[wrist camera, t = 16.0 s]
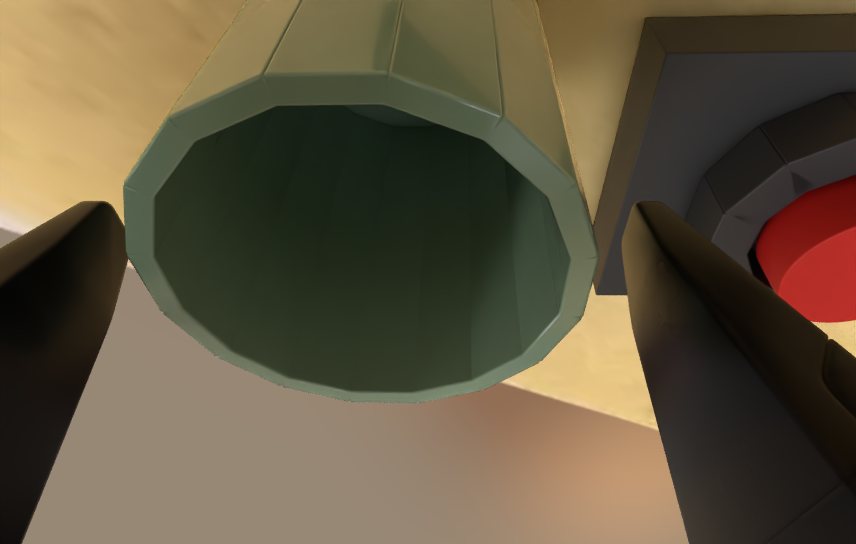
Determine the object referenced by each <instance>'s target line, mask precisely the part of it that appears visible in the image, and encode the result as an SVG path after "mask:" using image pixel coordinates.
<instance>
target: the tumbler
mask: <svg viewBox="0 0 856 544" xmlns="http://www.w3.org/2000/svg"><path fill="white" fill-rule="evenodd" d="M123 197H124V219H125V241H126V253H127V256H128V258H129V260H130V261H131V263H132V265H133V266H134V268H135V269H136V271H137V273H138V274H139V276H140V278H141V279H142V281H143V282H144V284H145V286H146V287H147V289H148V291H149V292H150V294H151V296H152V297H153V299H154V301H155V302H156V304H157V305H158V307H159V309H160V310H161V311H162V312H163V313H164V315H165V316H167V317H168V318H169V319H170V320H171V321H173V322H174V323H175V324H176V325H178V326H179V327H180V328H181V329H183V330H184V331H185V332H186V333H188V334H189V335H190V336H191V337H193V338H194V339H195V340H196V341H197V342H199V343H200V344H201V345H203V346H204V347H205V348H206V349H207V350H209V351H210V352H211V353H212V354H214V355H215V356H218V358H220V359H222V360H224V361H226V362H228V363H231V364H233V365H235V366H237V367H239V368H242V369H244V370H246V371H248V372H250V373H253V374H255V375H257V376H259V377H261V378H264V379H266V380H268V381H270V382H272V383H274V384H277V385H279V386H283V387H285V388H290V389H294V390H299V391H303V392H308V393H312V394H317V395H321V396H326V397H330V398H335V399H339V400H344V401H351V402H384V403H385V402H386V403H388V402H389V403H417V402H419V403H421V402H426V401H431V400H436V399H441V398H446V397H452V396H457V395H462V394H467V393H471V392H477V391H481V390H482V389H487V388H489V387H491V386H493V385H495V384H497V383H499V382H501V381H503V380H505V379H507V378H509V377H511V376H513V375H515V374H517V373H519V372H521V371H523V370H525V369H528V368H530V367H532V366H534V365H536V364H538V363H539V361H542V360H543V359H544V358H545V357H546V356H547V355H548V354H549V352H550V351H551V350H552V349H553V348H554V347H555V346H556V345H557V344H558V343H559V342H560V341H561V340H562V339H563V338H564V337H565V336H566V335H567V334H568V333H569V331H570V330H571V329H572V328H573V327H574V326H575V325H576V324H577V323H578V322H579V321H580V320H581V318H582V316H583V315H584V311H585V308H586V304H587V301H588V297H589V293H590V290H591V286H592V282H593V279H594V275H595V272H596V268H597V264H598V261H599V249H598V245H597V241H596V237H595V233H594V229H593V225H592V221H591V217H590V213H589V209H588V205H587V201H586V197H585V193H584V189H583V185H582V181H581V177H580V173H579V169H578V165H577V161H576V157H575V153H574V149H573V145H572V141H571V137H570V133H569V129H568V125H567V121H566V117H565V113H564V109H563V105H562V101H561V97H560V93H559V89H558V85H557V81H556V77H555V73H554V69H553V65H552V61H551V57H550V53H549V49H548V45H547V41H546V37H545V33H544V29H543V25H542V21H541V17H540V13H539V9H538V5H537V0H248V1H247V2H246V4H245V5H244V7H243V8H242V9H241V11H240V12H239V14H238V15H237V17H236V18H235V19H234V21H233V22H232V24H231V25H230V27H229V28H228V29H227V31H226V32H225V34H224V35H223V37H222V38H221V39H220V41H219V42H218V44H217V45H216V47H215V48H214V49H213V51H212V52H211V54H210V55H209V57H208V58H207V59H206V61H205V62H204V64H203V65H202V67H201V68H200V69H199V71H198V72H197V74H196V75H195V77H194V78H193V79H192V81H191V82H190V84H189V85H188V87H187V88H186V89H185V91H184V92H183V94H182V95H181V97H180V98H179V99H178V101H177V102H176V104H175V105H174V107H173V108H172V109H171V111H170V112H169V114H168V115H167V117H166V118H165V120H164V121H163V123H162V124H161V126H160V127H159V129H158V130H157V132H156V133H155V135H154V136H153V138H152V139H151V141H150V142H149V144H148V145H147V147H146V148H145V150H144V151H143V153H142V155H141V156H140V158H139V159H138V161H137V162H136V164H135V165H134V167H133V168H132V170H131V171H130V173H129V174H128V176H127V177H126V179H125V180H124V185H123Z"/></svg>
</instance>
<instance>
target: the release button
mask: <svg viewBox="0 0 856 544" xmlns="http://www.w3.org/2000/svg"><path fill="white" fill-rule="evenodd" d="M756 257H757V259H758V262H759V264H760V266H761V268H762V269H763V271H764V273H765V275H766V277H767V279H768V281H769V283H770V285H771V287H772V288H773V290H774V292H775V293H776V294H777V295H778V296H779V297H781V298H782V299H783V300H784V301H786V302H787V303H788V304H789V305H791V306H792V307H793V308H794V309H796V310H797V311H798V312H799V313H801V314H802V315H803V316H804V317H806V318H807V319H808V320H809V321H813V322H825V323H830V322H845V321H852V320H856V175H853V176H850V177H847V178H844V179H841V180H839V181H836V182H833V183H830V184H827V185H824V186H822V187H819V188H816V189H813V190H810V191H807V192H805V193H804V194H802V195H801V196H800V197H798V198H797V199H796V200H794V201H793V202H792V203H790V204H789V205H788V206H786V207H785V208H784V209H782V210H781V211H779V212H778V213H777V214H775V215H774V216H773V217H771V218H770V219H769V220H768V221H767V222H766V223H765V225H764V227H763V228H762V230H761V232H760V234H759V236H758V239H757V242H756Z"/></svg>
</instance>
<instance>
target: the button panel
mask: <svg viewBox="0 0 856 544" xmlns="http://www.w3.org/2000/svg"><path fill="white" fill-rule="evenodd" d="M853 175H856V15H793V16H728V17H662V18H646V20H645V24H644V28H643V31H642V35H641V39H640V43H639V47H638V51H637V55H636V59H635V63H634V67H633V71H632V75H631V79H630V83H629V87H628V91H627V95H626V99H625V103H624V107H623V111H622V115H621V119H620V123H619V127H618V131H617V135H616V139H615V143H614V147H613V151H612V154H611V158H610V162H609V166H608V170H607V174H606V178H605V182H604V186H603V190H602V194H601V198H600V202H599V206H598V210H597V214H596V218H595V222H594V226H593V229H594V233H595V237H596V241H597V245H598V249H599V261H598V264H597V268H596V272H595V275H594V279H593V284H594V288H595V293H596V295H628V294H627V287H626V279H625V271H624V264H623V256H622V239H623V235H624V232H625V228H626V225H627V222H628V219H629V215H630V212H631V209H632V207H633V205H634V204H635V203H636V202H638V201H660V202H662V203H664V204H665V205H667V206H668V207H669V208H670V209H671V210H673V211H674V212H675V213H676V214H678V215H679V216H680V217H681V218H683V219H684V220H685V221H686V222H688V223H689V224H690V225H691V226H693V227H694V228H695V229H696V230H698V231H699V232H700V233H701V234H703V235H704V236H705V237H706V238H707V239H709V240H710V241H711V242H712V243H714V244H715V245H716V246H717V247H719V248H720V249H721V250H722V251H724V252H725V253H726V254H727V255H729V256H730V257H731V258H732V259H734V260H735V261H736V262H737V263H739V264H740V265H741V266H742V267H743V268H745V269H746V270H747V271H748V272H750V273H751V274H752V275H753V276H755V277H756V278H757V279H758V280H760V281H761V282H762V283H763V284H765V285H766V286H767V287H768V288H770V289H771V290H772V291H773V292H774V290H773V288H772V287H771V285H770V283H769V281H768V279H767V277H766V275H765V273H764V271H763V269H762V268H761V266H760V264H759V262H758V259H757V257H756V242H757V239H758V236H759V234H760V232H761V230H762V228H763V227H764V225H765V223H766V222H767V221H768V220H769V219H770V218H771V217H773V216H774V215H775V214H777V213H778V212H779V211H781V210H782V209H784V208H785V207H786V206H788V205H789V204H790V203H792V202H793V201H794V200H796V199H797V198H798V197H800V196H801V195H802V194H804V193H805V192H807V191H810V190H813V189H816V188H819V187H822V186H824V185H827V184H830V183H833V182H836V181H839V180H841V179H844V178H847V177H850V176H853Z"/></svg>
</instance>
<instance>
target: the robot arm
mask: <svg viewBox="0 0 856 544" xmlns="http://www.w3.org/2000/svg"><path fill="white" fill-rule="evenodd" d="M622 256H623V264H624V271H625V279H626V287H627V294H628V302H629V310H630V317H631V323H632V329H633V333H634V337H635V341H636V345H637V349H638V353H639V356H640V360H641V364H642V368H643V372H644V375H645V379H646V383H647V387H648V390H649V394H650V398H651V402H652V405H653V409H654V413H655V417H656V420H657V424H658V428H659V432H660V436H661V439H662V443H663V447H664V451H665V454H666V457H667V462H668V466H669V469H670V473H671V477H672V480H673V485H674V488H675V492H676V496H677V500H678V503H679V507H680V511H681V515H682V518H683V521H684V526H685V530H686V533H687V537H688V541H689V544H856V357H854V356H853V355H852V354H851V353H849V352H848V351H847V350H846V349H844V348H843V347H842V346H841V345H839V344H838V343H837V342H836V341H834V340H833V339H829V340H828V335H827V334H825V333H824V332H823V331H822V330H820V329H819V328H818V327H817V326H815V325H814V324H813V323H812V322H811V321H809V320H808V319H807V318H806V317H804V316H803V315H802V314H801V313H799V312H798V311H797V310H796V309H794V308H793V307H792V306H791V305H789V304H788V303H787V302H786V301H784V300H783V299H782V298H781V297H779V296H778V295H777V294H776V293H775V292H773V291H772V290H771V289H770V288H768V287H767V286H766V285H765V284H763V283H762V282H761V281H760V280H758V279H757V278H756V277H755V276H753V275H752V274H751V273H750V272H748V271H747V270H746V269H745V268H743V267H742V266H741V265H740V264H739V263H737V262H736V261H735V260H734V259H732V258H731V257H730V256H729V255H727V254H726V253H725V252H724V251H722V250H721V249H720V248H719V247H717V246H716V245H715V244H714V243H712V242H711V241H710V240H709V239H707V238H706V237H705V236H704V235H703V234H701V233H700V232H699V231H698V230H696V229H695V228H694V227H693V226H691V225H690V224H689V223H688V222H686V221H685V220H684V219H683V218H681V217H680V216H679V215H678V214H676V213H675V212H674V211H673V210H671V209H670V208H669V207H668V206H667V205H665V204H664V203H662V202H660V201H638V202H636V203H635V204H634V205H633V207H632V209H631V212H630V215H629V219H628V222H627V225H626V228H625V232H624V235H623V239H622ZM127 262H128V256H127V253H126V241H125V226H124V225H123V223H122V221H121V220H120V218H119V216H118V214H117V213H116V211H115V209H114V208H113V206H112V205H111V204H109V203H108V202H105V201H83V202H80V203H78V204H77V205H75V206H73V207H71V208H70V209H68V210H66V211H64V212H63V213H61V214H59V215H57V216H56V217H54V218H52V219H50V220H49V221H47V222H45V223H43V224H42V225H40V226H38V227H37V228H35V229H33V230H31V231H30V232H28V233H26V234H24V235H23V236H21V237H19V238H17V239H16V240H14V241H12V242H10V243H9V244H7V245H5V246H3V247H2V248H0V544H22V542H23V539H24V537H25V534H26V532H27V530H28V527H29V525H30V522H31V519H32V517H33V515H34V512H35V509H36V507H37V504H38V502H39V500H40V497H41V495H42V492H43V490H44V487H45V485H46V482H47V480H48V477H49V475H50V472H51V470H52V467H53V465H54V463H55V460H56V457H57V455H58V453H59V450H60V447H61V445H62V443H63V440H64V438H65V435H66V433H67V430H68V428H69V425H70V423H71V420H72V418H73V415H74V413H75V410H76V408H77V405H78V403H79V400H80V398H81V395H82V393H83V390H84V388H85V386H86V383H87V381H88V378H89V375H90V373H91V371H92V368H93V366H94V363H95V361H96V358H97V356H98V353H99V350H100V348H101V346H102V343H103V341H104V338H105V336H106V333H107V330H108V328H109V325H110V322H111V320H112V316H113V313H114V310H115V306H116V303H117V299H118V295H119V292H120V288H121V284H122V280H123V277H124V273H125V269H126V266H127Z"/></svg>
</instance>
